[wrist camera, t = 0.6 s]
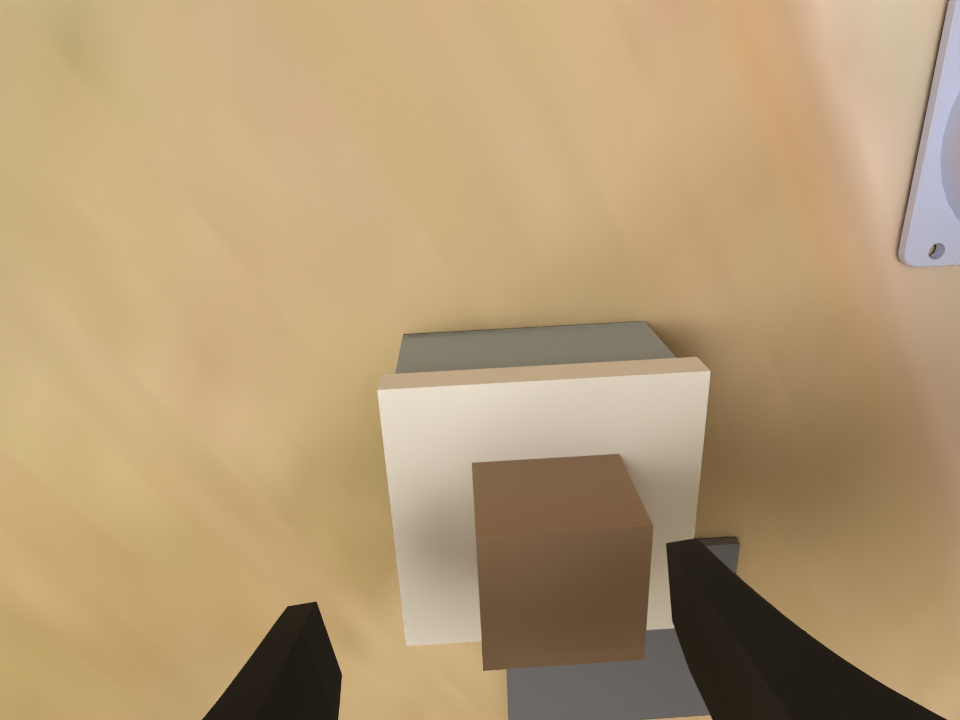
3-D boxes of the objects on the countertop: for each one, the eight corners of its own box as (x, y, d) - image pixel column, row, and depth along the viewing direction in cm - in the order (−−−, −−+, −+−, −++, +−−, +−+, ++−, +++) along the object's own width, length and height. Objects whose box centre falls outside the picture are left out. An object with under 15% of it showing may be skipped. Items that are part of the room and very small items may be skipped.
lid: (697, 356, 18) (767, 429, 14) (674, 604, 21) (726, 720, 17) (381, 374, 17) (361, 453, 14) (408, 621, 21) (398, 743, 17)
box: (644, 321, 21) (685, 367, 18) (633, 522, 24) (666, 597, 21) (403, 334, 21) (393, 383, 18) (421, 535, 24) (416, 613, 21)
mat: (735, 536, 25) (739, 543, 25) (713, 706, 28) (717, 714, 28) (502, 551, 25) (503, 558, 24) (508, 720, 28) (509, 729, 28)
